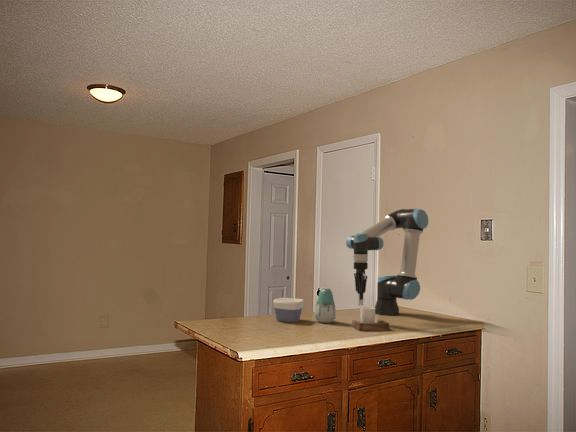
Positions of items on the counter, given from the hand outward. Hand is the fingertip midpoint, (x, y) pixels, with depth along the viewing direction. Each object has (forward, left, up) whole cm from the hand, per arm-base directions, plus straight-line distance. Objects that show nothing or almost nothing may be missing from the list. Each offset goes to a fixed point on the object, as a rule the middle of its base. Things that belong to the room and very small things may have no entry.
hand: (360, 305), depth 264 cm
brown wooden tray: (+15, -1, -9) cm, 18 cm away
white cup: (+11, -1, -10) cm, 15 cm away
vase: (-4, -19, -10) cm, 21 cm away
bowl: (-10, -38, -10) cm, 40 cm away
